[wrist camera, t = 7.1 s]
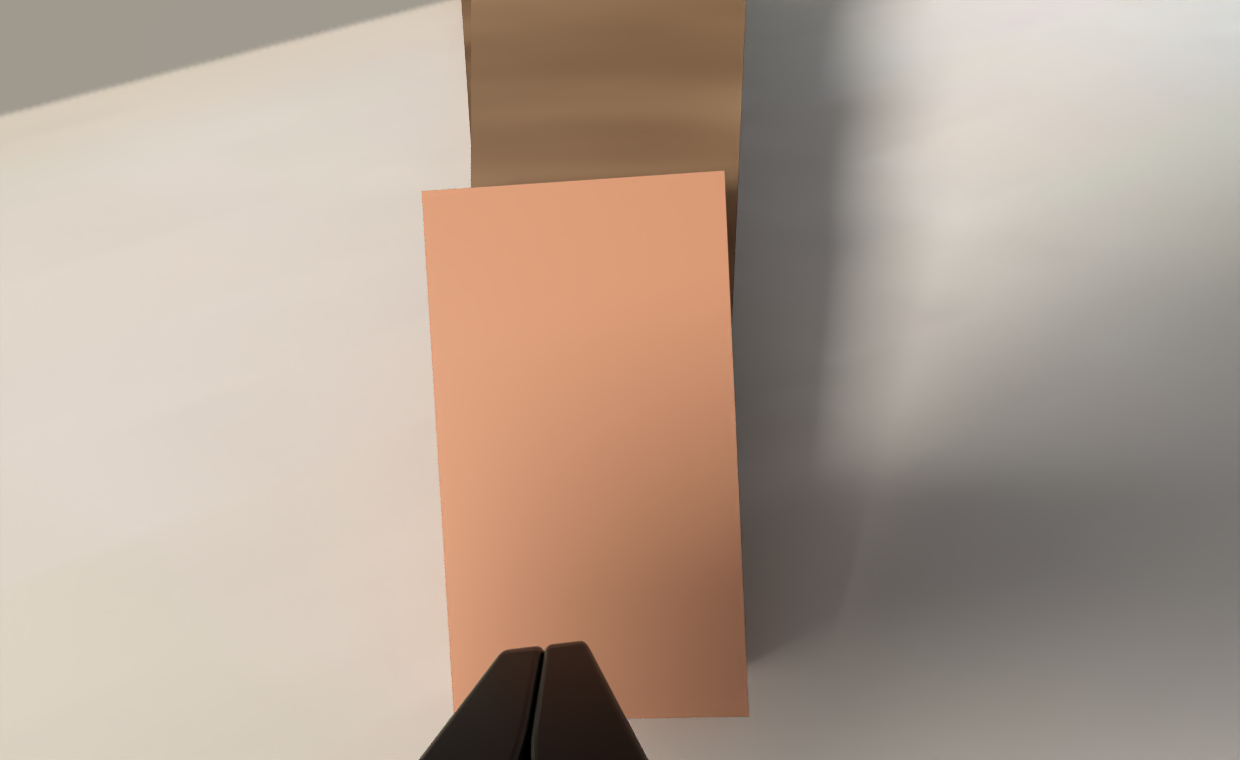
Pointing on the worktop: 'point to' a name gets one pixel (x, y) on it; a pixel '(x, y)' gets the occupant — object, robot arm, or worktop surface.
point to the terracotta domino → (590, 433)
